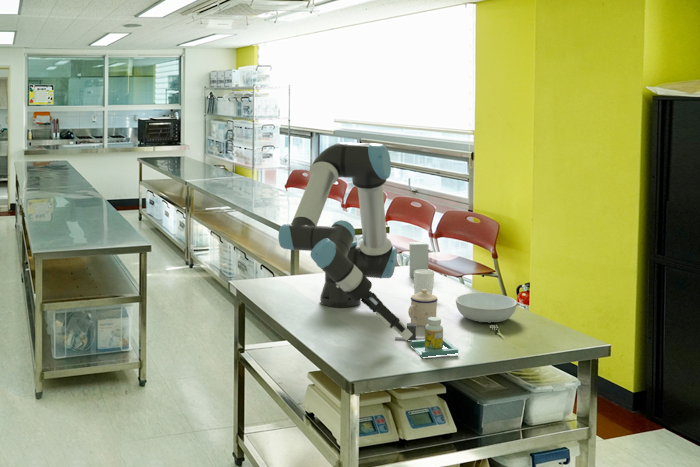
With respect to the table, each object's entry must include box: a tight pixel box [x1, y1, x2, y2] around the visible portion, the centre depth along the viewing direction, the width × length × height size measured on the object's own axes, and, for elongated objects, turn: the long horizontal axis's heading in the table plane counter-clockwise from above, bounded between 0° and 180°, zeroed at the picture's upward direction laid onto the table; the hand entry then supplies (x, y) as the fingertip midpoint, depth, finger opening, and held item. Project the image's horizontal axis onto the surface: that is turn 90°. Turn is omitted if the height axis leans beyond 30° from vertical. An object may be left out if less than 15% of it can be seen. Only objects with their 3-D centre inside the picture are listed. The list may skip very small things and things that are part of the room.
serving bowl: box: [455, 292, 518, 324], centre depth 248 cm, size 21×21×7 cm
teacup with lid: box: [408, 289, 438, 327], centre depth 241 cm, size 12×9×12 cm
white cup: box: [413, 269, 435, 295], centre depth 277 cm, size 8×8×10 cm
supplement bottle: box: [424, 316, 444, 351], centre depth 214 cm, size 5×5×10 cm
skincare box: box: [409, 241, 429, 278], centre depth 311 cm, size 8×6×15 cm
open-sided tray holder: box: [410, 337, 459, 358], centre depth 214 cm, size 11×11×2 cm
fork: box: [489, 324, 499, 329], centre depth 227 cm, size 3×20×2 cm, turn 8°
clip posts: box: [394, 322, 427, 342], centre depth 224 cm, size 16×3×5 cm, turn 84°
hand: (400, 330), depth 211 cm, fingers open, 13 cm apart
